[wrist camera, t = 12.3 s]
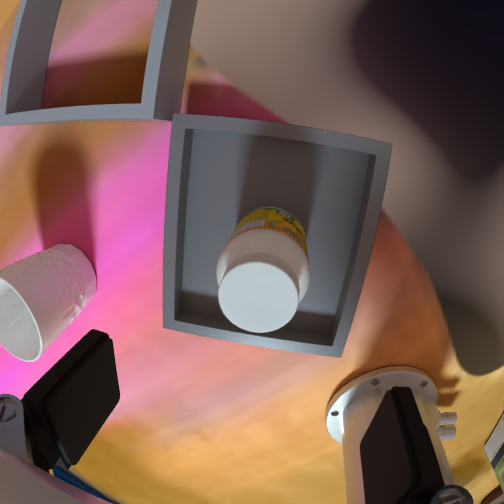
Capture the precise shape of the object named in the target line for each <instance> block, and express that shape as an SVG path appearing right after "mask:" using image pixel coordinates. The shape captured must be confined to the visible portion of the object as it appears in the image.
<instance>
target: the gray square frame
mask: <svg viewBox="0 0 504 504" xmlns="http://www.w3.org/2000/svg"><path fill="white" fill-rule="evenodd" d="M61 1H62V0H21V2H20V5H19V8H18V12H17V15H16V19H15V23H14V27H13V31H12V35H11V40H10V44H9V49H8V54H7V59H6V65H5V71H4V77H3V84H2V92H1V100H0V126H15V125H34V124H46V123H61V122H81V121H164V122H172V119H173V114H180V109H181V101H182V93H183V85H184V78H185V71H186V64H187V58H188V51H189V45H190V39H191V33H192V27H193V22H194V16H195V11H196V6H197V1H198V0H158V4H157V9H156V13H155V18H154V23H153V28H152V34H151V39H150V45H149V50H148V57H147V63H146V69H145V76H144V83H143V91H142V99H141V104H104V105H86V106H72V107H60V108H50V109H41V107H42V98H43V90H44V82H45V75H46V69H47V63H48V57H49V52H50V47H51V42H52V37H53V32H54V28H55V24H56V20H57V16H58V12H59V8H60V4H61Z"/></svg>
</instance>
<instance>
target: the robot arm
mask: <svg viewBox="0 0 504 504" xmlns="http://www.w3.org/2000/svg"><path fill="white" fill-rule="evenodd" d="M23 396H24V397H23V398H22V399H21V400H20V399H18V398H17V397H16V396H14V395H11V394H1V395H0V504H112V503H109V502H107V501H105V500H102V499H100V498H98V497H95V496H93V495H91V494H89V493H87V492H85V491H83V490H80V489H78V488H76V487H74V486H72V485H70V484H68V483H66V482H64V481H62V480H60V479H58V478H56V477H55V476H53V471H52V468H53V467H54V466H55V464H56V465H58V466H60V467H62V468H64V469H65V470H67V471H68V469H69V468H70V466H71V465H76V464H77V463H78V461H79V460H80V458H81V457H82V455H83V454H84V452H85V451H86V449H87V448H88V446H89V445H90V443H91V442H92V440H93V439H94V437H95V436H96V434H97V433H98V431H99V430H100V428H101V427H102V425H103V424H104V423H105V421H106V420H107V418H108V417H109V415H110V414H111V412H112V411H113V409H114V408H115V406H116V405H117V403H118V402H119V399H120V390H119V384H118V378H117V371H116V364H115V356H114V348H113V341H112V339H110V338H109V335H108V334H107V333H104V332H101V331H98V330H95V329H92V330H90V331H89V332H88V333H87V334H86V335H85V336H84V337H83V338H82V339H81V340H80V341H79V342H78V343H76V344H75V345H74V346H73V347H72V348H71V349H70V350H69V351H68V352H67V353H66V354H65V355H64V356H63V357H62V358H61V359H60V360H59V361H58V362H57V363H56V364H55V365H54V366H53V367H52V368H51V369H50V370H49V371H48V372H46V373H45V374H44V375H43V376H42V377H41V378H40V379H39V380H38V381H37V382H36V383H35V384H34V385H33V386H32V387H31V388H30V389H29V390H28V391H27V392H26V393H25V394H24V395H23ZM437 401H438V391H437V389H436V386H435V384H434V382H433V380H432V379H431V377H430V376H429V375H428V374H426V373H425V372H423V371H421V370H419V369H417V368H413V367H407V366H393V367H385V368H381V369H377V370H373V371H371V372H368V373H365V374H363V375H361V376H359V377H357V378H355V379H353V380H352V381H350V382H349V383H347V384H346V385H345V386H343V387H342V388H341V389H340V390H339V391H338V392H337V393H336V394H335V395H334V397H333V398H332V399H331V401H330V402H329V405H328V407H327V409H326V414H325V420H326V428H327V431H328V433H329V434H330V436H331V437H332V438H333V439H334V440H335V441H336V442H338V443H340V444H342V445H343V456H344V468H345V481H346V496H347V504H473V498H472V496H471V494H470V493H469V492H468V490H466V489H465V488H463V487H462V486H459V485H456V484H455V481H454V478H453V475H452V472H451V468H450V465H449V462H448V459H447V456H446V454H445V451H444V448H443V445H442V442H441V440H451V439H453V438H454V436H455V434H456V427H455V425H454V424H453V423H455V422H456V420H457V413H456V412H445V413H440V411H438V409H437V407H436V406H437ZM440 424H446V425H440Z"/></svg>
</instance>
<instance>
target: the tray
mask: <svg viewBox="0 0 504 504" xmlns="http://www.w3.org/2000/svg"><path fill="white" fill-rule="evenodd" d="M391 150H392V144H390V143H386V142H382V141H377V140H373V139H369V138H364V137H359V136H354V135H349V134H344V133H338V132H333V131H328V130H323V129H317V128H310V127H305V126H298V125H292V124H284V123H277V122H269V121H261V120H252V119H243V118H232V117H221V116H208V115H191V114H173V119H172V128H171V138H170V149H169V160H168V173H167V187H166V203H165V222H164V249H163V328H167V329H171V330H176V331H180V332H185V333H190V334H195V335H200V336H204V337H210V338H215V339H220V340H225V341H231V342H236V343H242V344H248V345H254V346H260V347H266V348H273V349H279V350H286V351H293V352H300V353H308V354H316V355H324V356H332V357H341V356H342V353H343V350H344V347H345V344H346V341H347V337H348V334H349V331H350V328H351V325H352V321H353V318H354V315H355V311H356V308H357V304H358V301H359V297H360V294H361V290H362V286H363V283H364V279H365V275H366V271H367V267H368V264H369V260H370V256H371V251H372V247H373V243H374V239H375V234H376V230H377V225H378V221H379V216H380V211H381V206H382V201H383V195H384V191H385V185H386V180H387V175H388V169H389V163H390V156H391ZM261 207H277V208H280V209H283V210H285V211H287V212H289V213H290V214H292V215H293V216H295V217H296V218H297V219H298V221H299V222H300V223H301V225H302V227H303V229H304V232H305V235H306V242H307V250H308V258H309V267H310V281H309V286H308V289H307V291H306V293H305V295H304V297H303V298H302V300H301V301H300V302H299V303H298V307H297V310H296V312H295V314H294V316H293V317H292V319H291V320H290V321H289V322H288V323H287V324H285V325H284V326H283V327H281V328H279V329H277V330H274V331H270V332H264V333H258V332H250V331H247V330H244V329H241V328H239V327H238V326H236V325H235V324H233V323H232V322H231V321H230V320H229V319H228V318H227V317H226V316H225V314H224V313H223V311H222V309H221V307H220V304H219V299H218V290H219V285H218V282H217V274H216V272H217V263H218V259H219V257H220V254H221V252H222V250H223V249H224V247H225V245H226V244H227V242H228V240H229V239H230V237H231V236H232V234H233V232H234V231H235V229H236V227H237V226H238V224H239V223H240V221H241V220H242V219H243V218H244V217H245V216H246V215H247V214H248V213H250V212H251V211H253V210H255V209H258V208H261Z"/></svg>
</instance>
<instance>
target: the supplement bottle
mask: <svg viewBox="0 0 504 504" xmlns="http://www.w3.org/2000/svg"><path fill="white" fill-rule="evenodd" d="M216 274H217V282H218V285H219V290H218V299H219V304H220V307H221V309H222V311H223V313H224V314H225V316H226V317H227V318H228V319H229V320H230V321H231V322H232V323H233V324H235V325H236V326H238V327H239V328H241V329H244V330H247V331H250V332H258V333H264V332H270V331H274V330H277V329H279V328H281V327H283V326H284V325H285V324H287V323H288V322H289V321H290V320H291V319H292V317H293V316H294V314H295V312H296V310H297V307H298V303H299V302H300V301H301V300H302V298H303V297H304V295H305V293H306V291H307V289H308V286H309V281H310V267H309V258H308V250H307V242H306V235H305V232H304V229H303V227H302V225H301V223H300V222H299V221H298V219H297V218H296V217H295V216H293V215H292V214H290V213H289V212H287V211H285V210H283V209H280V208H277V207H261V208H258V209H255V210H253V211H251V212H250V213H248V214H247V215H246V216H245V217H244V218H243V219H242V220H241V221H240V223H239V224H238V226H237V227H236V229H235V231H234V232H233V234H232V236H231V237H230V239H229V240H228V242H227V244H226V245H225V247H224V249H223V250H222V252H221V254H220V257H219V259H218V263H217V272H216Z"/></svg>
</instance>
